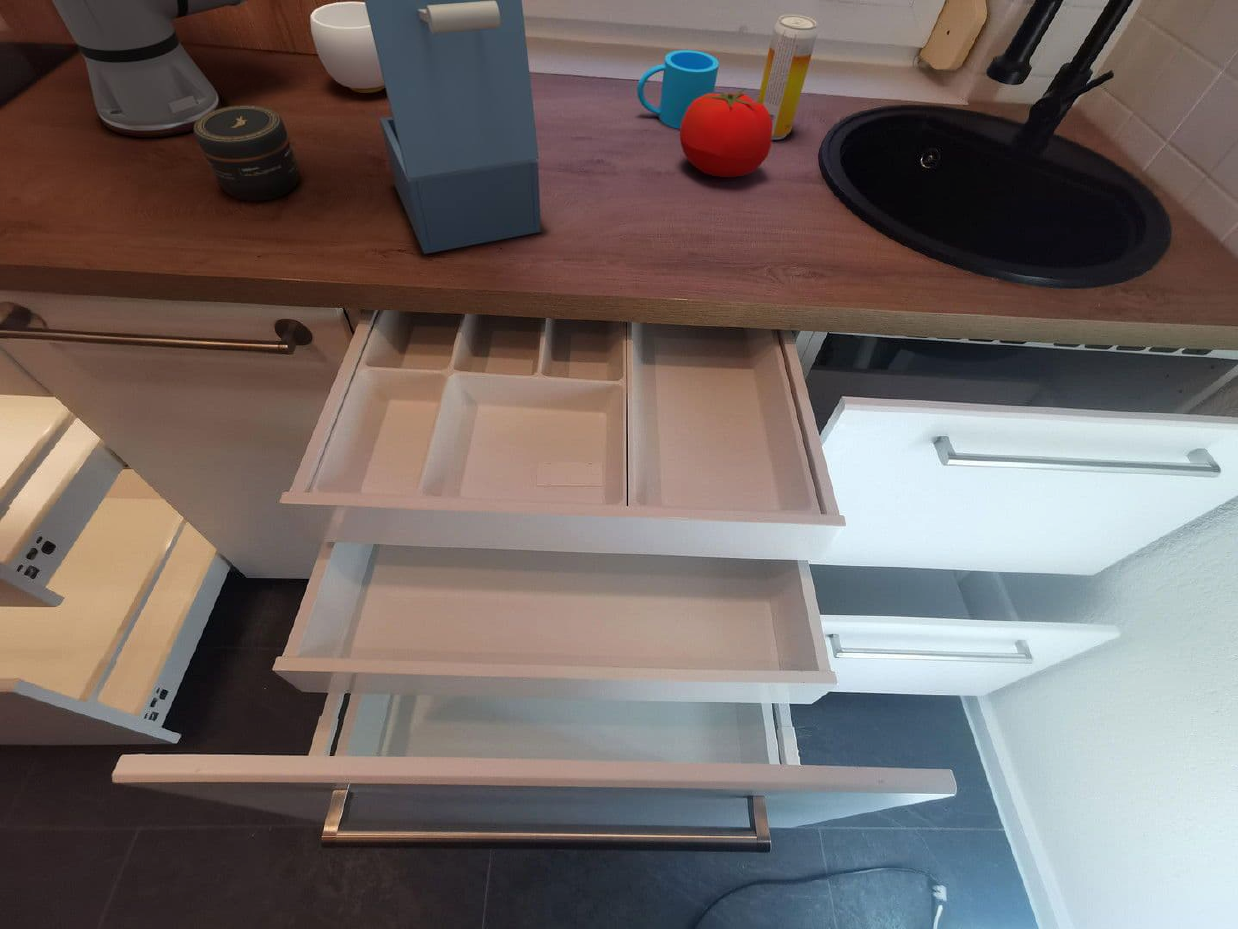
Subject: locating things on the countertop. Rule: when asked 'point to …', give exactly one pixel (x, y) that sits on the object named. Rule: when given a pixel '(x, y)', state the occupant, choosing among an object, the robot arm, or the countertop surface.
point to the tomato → (726, 134)
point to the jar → (248, 151)
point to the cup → (347, 45)
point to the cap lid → (456, 82)
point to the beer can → (786, 70)
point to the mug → (681, 83)
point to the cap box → (466, 201)
